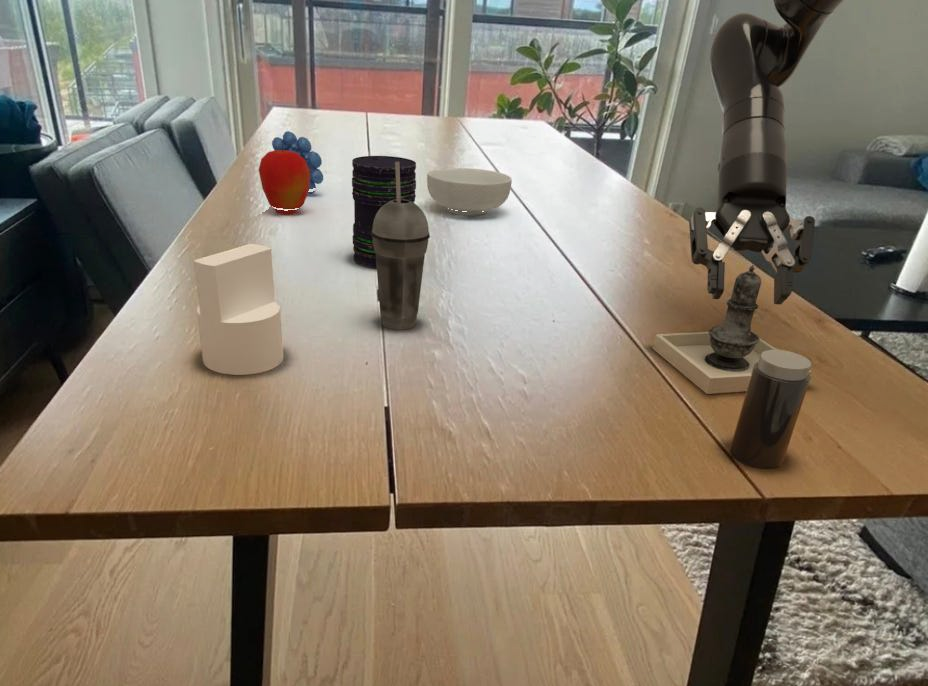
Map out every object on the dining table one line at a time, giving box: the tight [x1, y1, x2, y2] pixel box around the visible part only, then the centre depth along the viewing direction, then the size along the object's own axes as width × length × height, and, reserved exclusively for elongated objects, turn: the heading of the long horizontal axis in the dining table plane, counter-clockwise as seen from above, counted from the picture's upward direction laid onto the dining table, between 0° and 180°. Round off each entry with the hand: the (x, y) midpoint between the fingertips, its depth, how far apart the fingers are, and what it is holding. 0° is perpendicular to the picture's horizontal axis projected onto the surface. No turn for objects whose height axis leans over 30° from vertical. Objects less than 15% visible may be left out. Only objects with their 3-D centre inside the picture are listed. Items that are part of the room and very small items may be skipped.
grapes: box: [271, 130, 324, 195], centre depth 156 cm, size 12×7×12 cm, turn 75°
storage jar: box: [351, 155, 417, 270], centre depth 120 cm, size 10×10×15 cm
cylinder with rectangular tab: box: [193, 243, 284, 376], centre depth 85 cm, size 9×9×12 cm
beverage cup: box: [371, 162, 431, 331], centre depth 95 cm, size 7×7×20 cm
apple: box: [258, 146, 310, 216], centre depth 144 cm, size 9×9×12 cm
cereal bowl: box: [426, 167, 513, 217], centre depth 153 cm, size 17×17×7 cm
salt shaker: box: [705, 264, 762, 372], centre depth 90 cm, size 6×6×12 cm
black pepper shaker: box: [729, 349, 812, 469], centre depth 72 cm, size 5×5×10 cm
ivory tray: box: [652, 331, 812, 395], centre depth 93 cm, size 13×13×2 cm
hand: (749, 298), depth 87 cm, fingers open, 6 cm apart
